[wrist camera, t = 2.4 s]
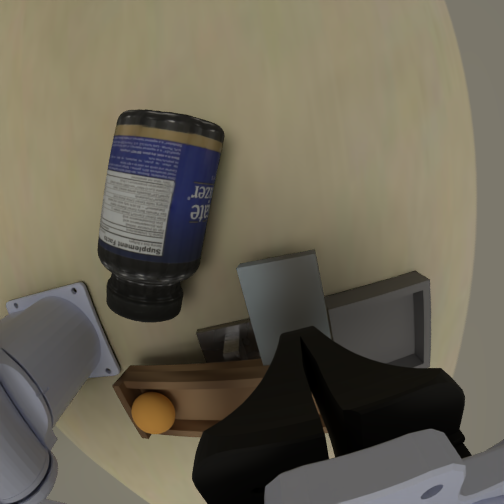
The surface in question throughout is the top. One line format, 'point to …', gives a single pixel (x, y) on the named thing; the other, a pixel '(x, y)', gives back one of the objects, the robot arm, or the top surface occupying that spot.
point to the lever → (245, 371)
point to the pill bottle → (156, 209)
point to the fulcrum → (229, 342)
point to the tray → (385, 320)
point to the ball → (153, 412)
